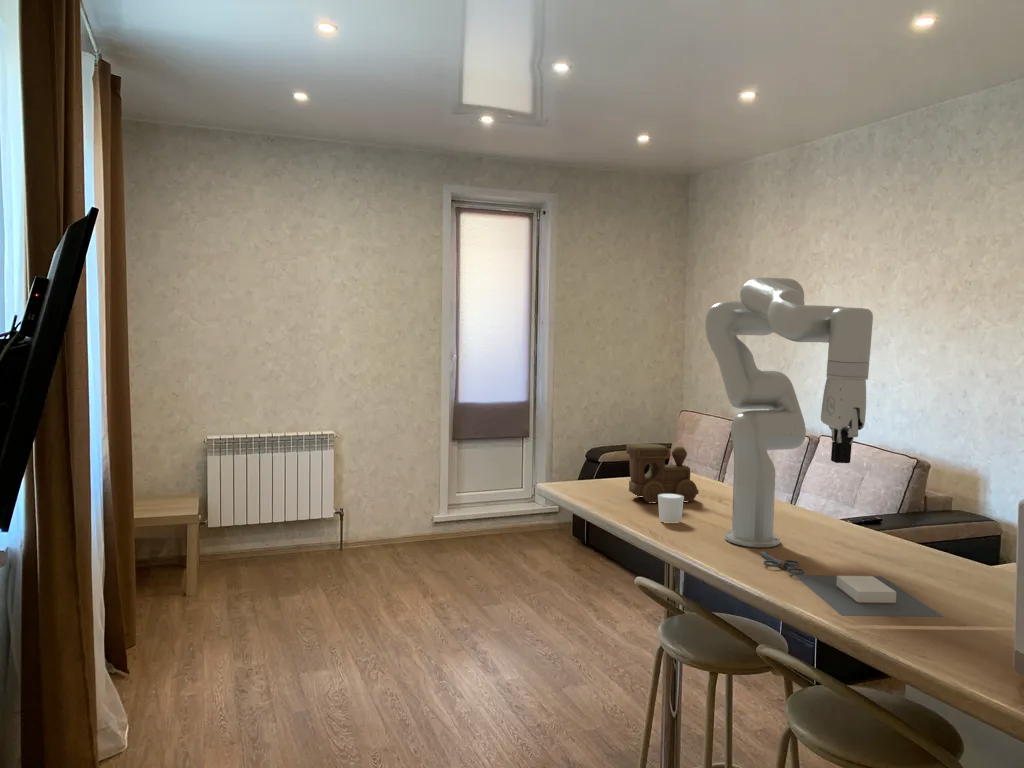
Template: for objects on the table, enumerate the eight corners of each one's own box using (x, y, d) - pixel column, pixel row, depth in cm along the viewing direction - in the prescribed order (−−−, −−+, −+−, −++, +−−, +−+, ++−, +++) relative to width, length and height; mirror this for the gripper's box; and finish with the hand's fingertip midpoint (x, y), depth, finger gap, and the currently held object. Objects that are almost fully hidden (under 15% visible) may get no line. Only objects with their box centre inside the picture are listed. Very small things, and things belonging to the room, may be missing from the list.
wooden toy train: (637, 505, 216) (639, 448, 215) (623, 497, 227) (624, 443, 226) (701, 503, 220) (702, 447, 219) (684, 495, 231) (685, 442, 230)
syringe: (772, 553, 169) (773, 546, 169) (817, 577, 152) (817, 568, 152) (741, 554, 168) (741, 547, 168) (782, 578, 150) (782, 569, 150)
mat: (794, 577, 153) (794, 574, 153) (881, 578, 153) (881, 576, 153) (841, 618, 131) (841, 615, 131) (943, 619, 131) (943, 616, 131)
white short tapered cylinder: (655, 523, 196) (656, 497, 195) (658, 517, 202) (659, 491, 202) (681, 525, 193) (682, 499, 193) (684, 519, 200) (685, 494, 199)
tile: (836, 575, 146) (858, 591, 137) (872, 576, 146) (896, 592, 137) (836, 587, 146) (857, 603, 137) (872, 587, 146) (895, 604, 137)
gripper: (813, 366, 154) (806, 453, 156) (845, 374, 139) (837, 470, 141) (849, 367, 154) (842, 454, 156) (885, 375, 139) (877, 471, 141)
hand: (840, 461), depth 148 cm, fingers closed
